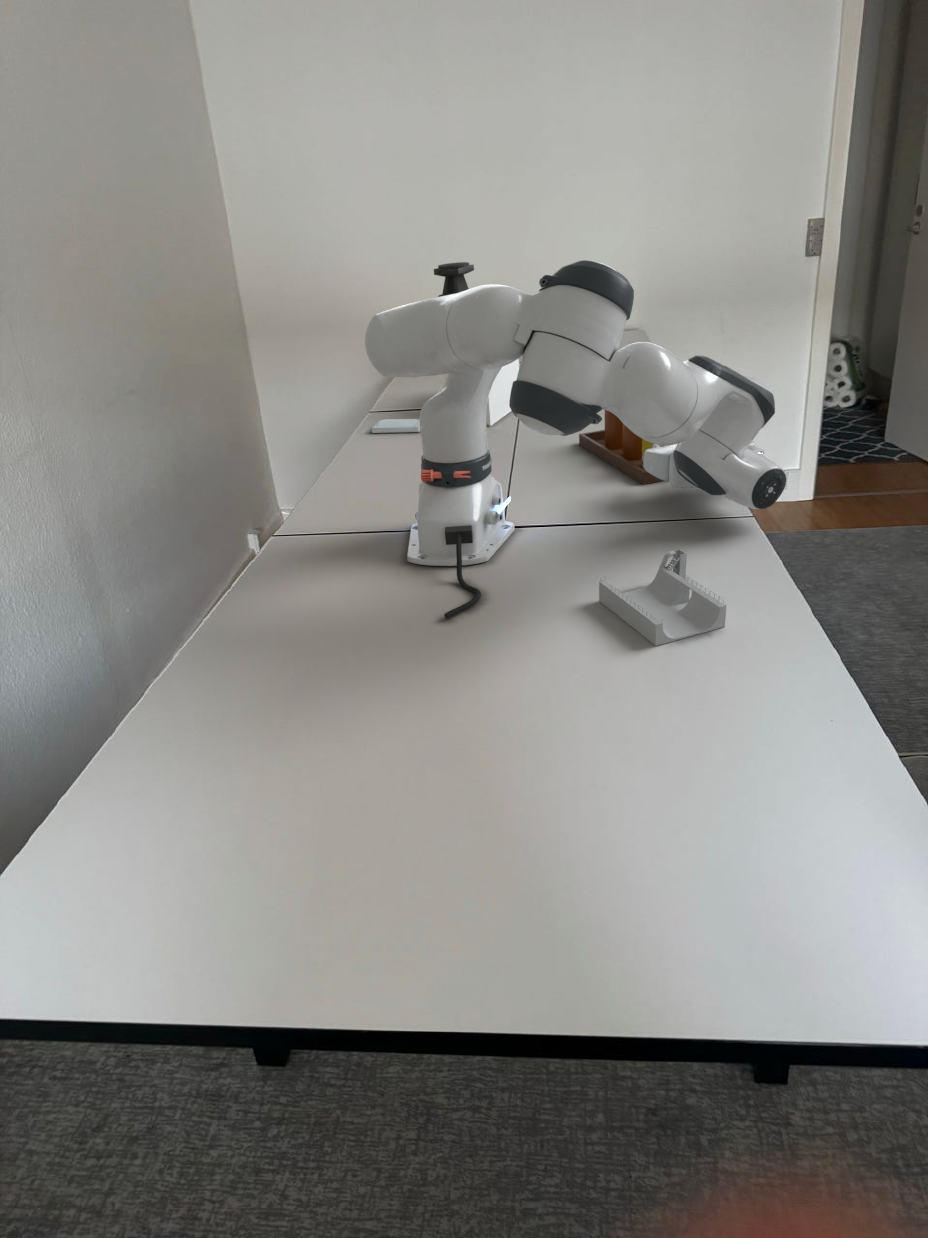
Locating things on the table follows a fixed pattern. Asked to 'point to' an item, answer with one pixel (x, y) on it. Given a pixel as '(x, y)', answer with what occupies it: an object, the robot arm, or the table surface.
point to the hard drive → (396, 426)
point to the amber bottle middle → (631, 445)
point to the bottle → (454, 277)
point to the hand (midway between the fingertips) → (678, 443)
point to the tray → (615, 457)
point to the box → (500, 393)
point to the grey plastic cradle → (666, 604)
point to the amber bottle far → (613, 431)
